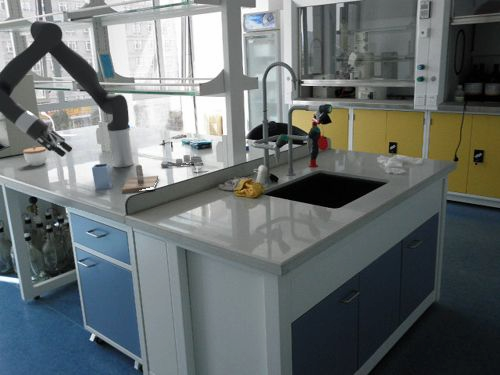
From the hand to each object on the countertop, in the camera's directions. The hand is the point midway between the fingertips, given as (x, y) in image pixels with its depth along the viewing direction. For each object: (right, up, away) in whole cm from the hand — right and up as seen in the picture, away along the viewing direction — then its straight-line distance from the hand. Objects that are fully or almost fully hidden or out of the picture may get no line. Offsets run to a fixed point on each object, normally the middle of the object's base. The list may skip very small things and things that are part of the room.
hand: (67, 152), depth 179 cm
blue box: (+13, -13, +5) cm, 19 cm away
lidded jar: (-36, -2, +53) cm, 65 cm away
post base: (+28, -13, +4) cm, 31 cm away
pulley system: (+43, -5, +30) cm, 53 cm away
